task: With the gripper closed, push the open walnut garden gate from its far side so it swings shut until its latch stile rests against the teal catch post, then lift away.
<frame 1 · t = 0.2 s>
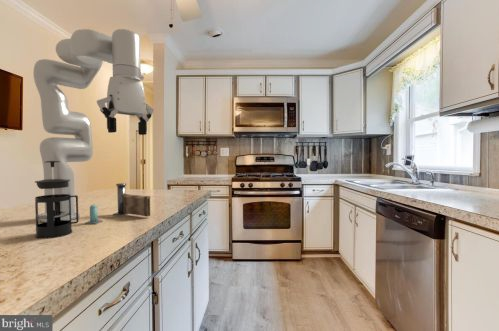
hand: (128, 133, 80), 31 cm above the countertop, fingers open, 9 cm apart
latch post: (93, 222, 98), on the countertop
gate: (136, 204, 109), point 5 cm above the countertop, hinge at 65.0°
french press: (56, 234, 85), on the countertop
gate post: (121, 214, 114), on the countertop
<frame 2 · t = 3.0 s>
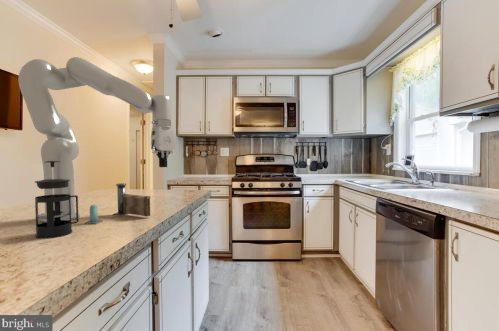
hand: (163, 167, 117), 20 cm above the countertop, fingers closed
nothing on the countertop moved.
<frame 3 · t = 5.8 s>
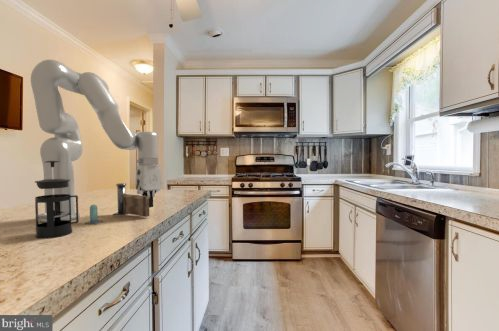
hand: (149, 206, 111), 4 cm above the countertop, fingers closed
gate: (135, 205, 109), point 5 cm above the countertop, hinge at 63.2°, touching gripper
everything else where it was.
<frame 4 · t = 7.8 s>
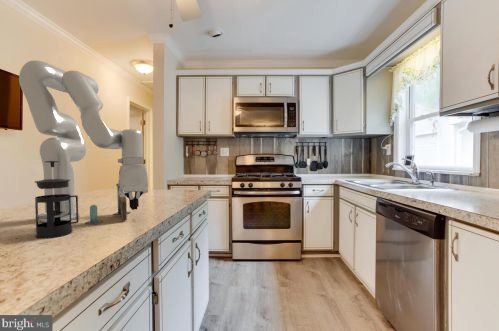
hand: (134, 209, 104), 4 cm above the countertop, fingers closed
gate: (122, 206, 105), point 5 cm above the countertop, hinge at 31.3°, touching gripper
everything else where it was.
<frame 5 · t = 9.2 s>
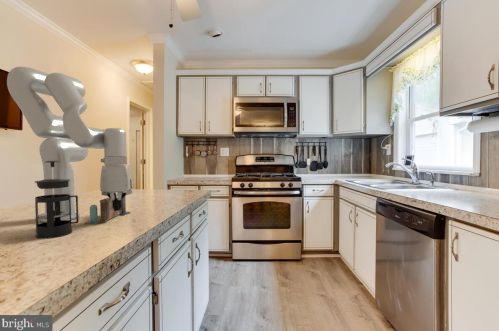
hand: (117, 210, 101), 4 cm above the countertop, fingers closed
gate: (111, 207, 104), point 5 cm above the countertop, hinge at 5.5°, touching gripper
everything else where it was.
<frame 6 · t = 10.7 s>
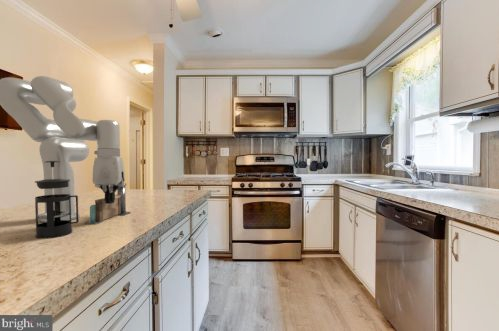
hand: (110, 202, 101), 7 cm above the countertop, fingers closed
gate: (109, 207, 104), point 5 cm above the countertop, hinge at -1.0°, touching gripper
everything else where it was.
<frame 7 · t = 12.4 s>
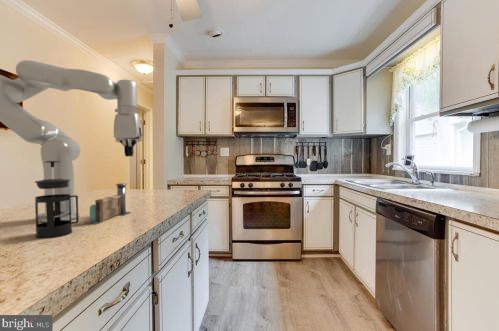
hand: (129, 156, 111), 24 cm above the countertop, fingers closed
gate: (109, 207, 104), point 5 cm above the countertop, hinge at -0.5°
everything else where it was.
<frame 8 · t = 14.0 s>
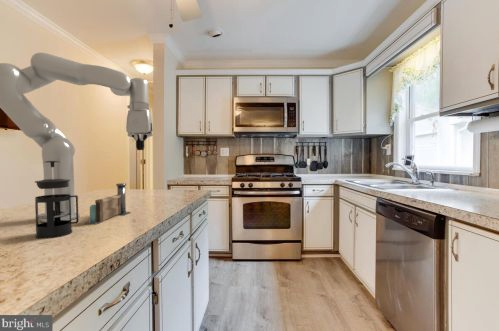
hand: (140, 149, 118), 27 cm above the countertop, fingers closed
nothing on the countertop moved.
at the end: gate at +0° (first picture: +65°); french press moved 0.2 cm from its start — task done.
